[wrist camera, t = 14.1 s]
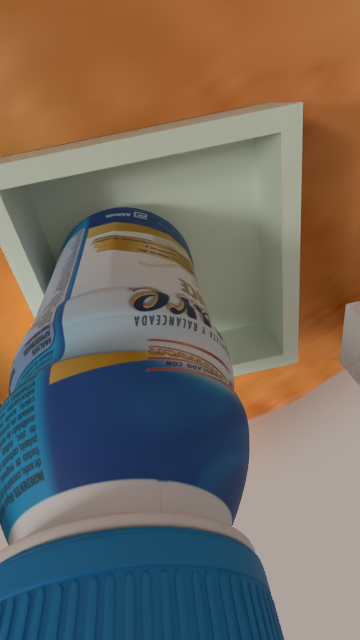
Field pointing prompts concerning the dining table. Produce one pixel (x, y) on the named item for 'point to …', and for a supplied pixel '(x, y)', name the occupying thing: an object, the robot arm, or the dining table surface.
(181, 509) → the beverage bottle
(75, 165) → the green box
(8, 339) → the dining table surface
